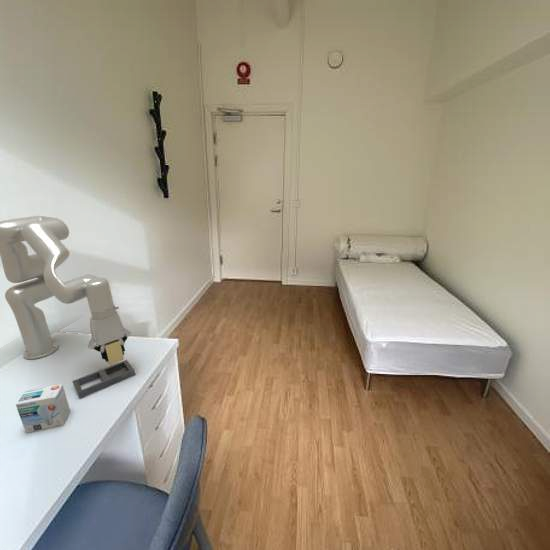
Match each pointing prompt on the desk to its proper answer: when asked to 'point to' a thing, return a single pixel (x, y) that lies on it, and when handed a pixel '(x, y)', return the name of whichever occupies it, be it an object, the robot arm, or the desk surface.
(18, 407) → the light bulb box
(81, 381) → the grey rectangular frame
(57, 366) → the desk surface
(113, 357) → the tan rectangular block
